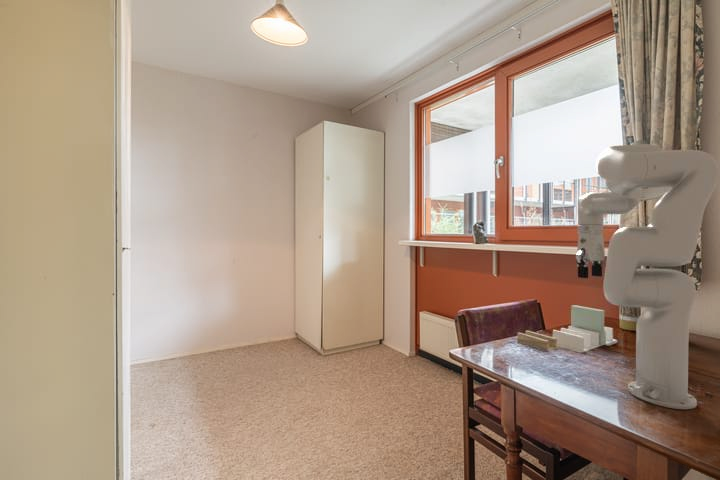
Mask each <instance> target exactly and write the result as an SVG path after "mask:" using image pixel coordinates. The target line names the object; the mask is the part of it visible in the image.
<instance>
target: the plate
mask: <svg viewBox="0 0 720 480" xmlns="http://www.w3.org/2000/svg"><path fill="white" fill-rule="evenodd" d="M570 326H572V327H577V328H581V329H585V330H590V331H594V332H598V333H599V345H602V346H604V345H603V344H604V327H605V309H598V308H592V307H588V306H581V305H576V304H575V305H574V304H573V305H570Z"/></svg>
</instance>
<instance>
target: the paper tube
mask: <svg viewBox="0 0 720 480" xmlns="http://www.w3.org/2000/svg"><path fill="white" fill-rule="evenodd" d="M641 314H642V307H625V306H619V328H621V329H623V330H626V331H632V332H636V325H637V321H638V318H639V316H640V315H641Z"/></svg>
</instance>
